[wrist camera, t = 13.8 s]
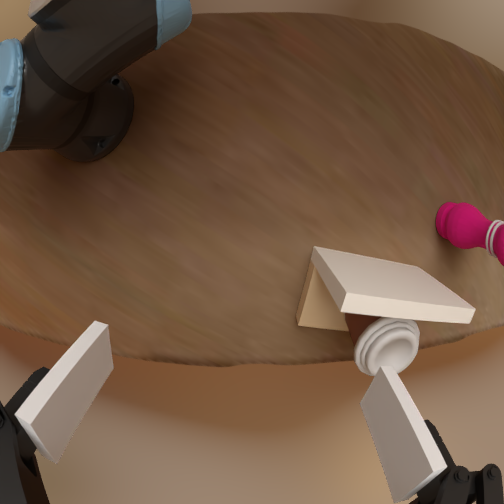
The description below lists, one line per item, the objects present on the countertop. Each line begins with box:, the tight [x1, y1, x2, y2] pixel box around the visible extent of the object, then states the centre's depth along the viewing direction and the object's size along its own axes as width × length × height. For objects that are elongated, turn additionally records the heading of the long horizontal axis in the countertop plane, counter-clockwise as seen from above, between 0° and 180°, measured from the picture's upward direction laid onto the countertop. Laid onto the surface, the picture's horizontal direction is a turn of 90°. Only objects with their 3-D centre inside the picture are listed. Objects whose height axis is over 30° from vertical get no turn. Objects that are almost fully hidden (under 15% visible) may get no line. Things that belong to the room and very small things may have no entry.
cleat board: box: [296, 246, 476, 331], centre depth 34 cm, size 12×19×16 cm, turn 80°
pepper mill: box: [436, 202, 504, 266], centre depth 28 cm, size 7×7×20 cm
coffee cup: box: [344, 312, 420, 376], centre depth 33 cm, size 9×9×12 cm
